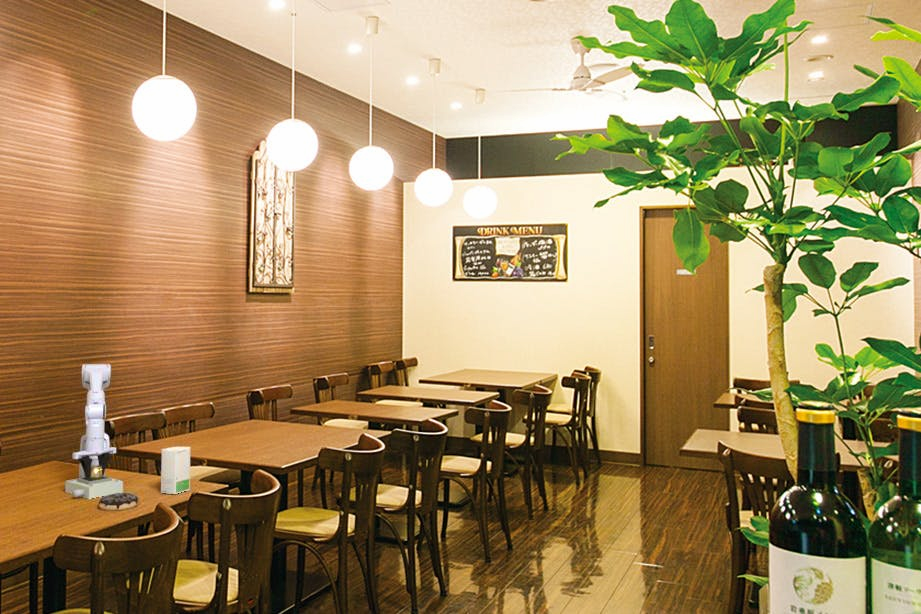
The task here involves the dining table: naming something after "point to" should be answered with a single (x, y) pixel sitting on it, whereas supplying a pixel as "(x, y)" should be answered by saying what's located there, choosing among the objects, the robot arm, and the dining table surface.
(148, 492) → the dining table surface
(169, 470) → the skincare box
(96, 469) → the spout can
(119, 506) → the donut
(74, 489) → the gearbox
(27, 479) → the dining table surface
